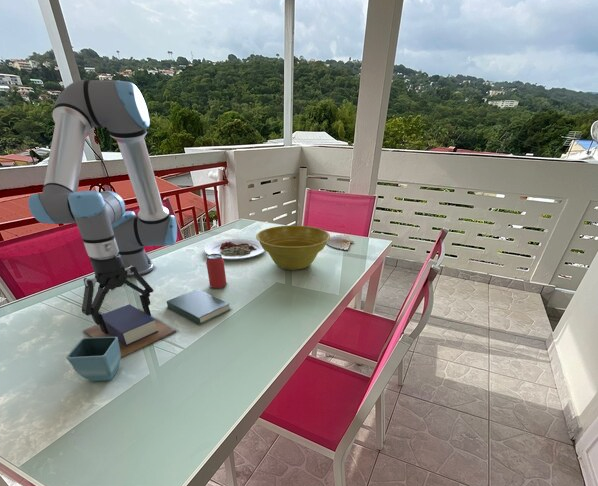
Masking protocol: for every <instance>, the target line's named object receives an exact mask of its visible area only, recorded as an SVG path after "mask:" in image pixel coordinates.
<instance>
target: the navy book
mask: <svg viewBox="0 0 598 486" xmlns="http://www.w3.org/2000/svg"><path fill="white" fill-rule="evenodd" d="M140 310H141V309H139V308H137V307H135V306H134V305H131V304H130V303H128V304H125V305H123V306H120V307H118V308H115V309H113V310H110V311H106V312H104V313H101V314H102V317H103V320H104V322H105V325H106V327H107V330H108V334H109V335H111V336H112V337H118V341H119V342H120V343H122V344H123V345H125V346H128V345H130V344H132V343H135V342H137V341H139V340H141V339H143V338H146V337H148V336H150V335H152V334H155V333H157V332H159V331H158V330H157V327H156V324H155V319H156V318H155V317H153V316H152V315H151V316H149V315H147V314H146V313H144V311H143V312H142V310H141V311H140ZM152 317H153V318H152ZM154 318H155V319H154Z"/></svg>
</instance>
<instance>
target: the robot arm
mask: <svg viewBox="0 0 598 486" xmlns="http://www.w3.org/2000/svg"><path fill="white" fill-rule="evenodd" d="M51 115H52V119H53V123H54V127H53V135H52V140H51V145H50V150H49V155H48V161H47V167H46V172H45V176H44V182H43V187H42V192H41V193H40V192H37V193H32V194H31V195H29V197H28V200H27V204H28V209H29V212H30V214H31V215H32V216H33V217H32V218H34V219H35V220H36V221H38V222H39V223H42V224H49V225H50V224H51V225H60V224H61V225H63V224H76V226H77V228H78V232H79V233H80V236H81V239H82V243H83V245H84V248H85V252H86V254H87V256H88V257H89V263H90V264H91V268H92V270H93V272H94V277H91V278H88V277H84V278H83V284H84V290H83V291H84V292H83V298H82V305H81V306H82V307H81V313H82V314H84V315H85V316H87V317H89V316H91V317H92V318H91V319H92V320H93V322H94V324H96V325H100V328H101V330H102V332H104V333H105V334H108V330H107V327H106V325H105V322H104V320H103V317H102V314H103V313H101V312H100V310H101V308H102V305H103V302H104V301H105V298H106V295H107V294H108V293H109V291H110V290H111V291H112V290H115V289H117V288H122V287H123V286H124V285H125V286H127V287H129V288H130V289H132V290H134V291H136V292H138V293H139V300H140V303H141V306H142V310H143V312H144V313H146V314H147V315H149V316H151V317H152V313H151V309H150V305H151V299H150V297H151V293H154V289H153V287H152V286H151V285H150V284H149V283H148V282H147V281H146V280H145V278H144V277H142V275H146V274H149V273H150V272H151V271H153V270H154V264H153V262H152V260H151V258H150V257H149V255H148V254H147V252H146V250H145V247H154V246H155V247H162V246H163V247H167V246H174V245H175V244H176V243H177V238H178V224H177V218H176V216H175V215H173V214H170V211H169V209H168V208H167V207H165V206H164V204H163V200H162V198H161V197H162V196H161V194H160V190H159V187H158V183H157V180H156V176H155V172H154V169H153V166H152V161H151V158H150V154H149V151H148V148H147V144H146V141H145V137H146V135H147V134H148V128H149V127H150V123H151V122H150V121H151V120H150V116H149V111H148V107H147V104H146V101H145V99H144V97H143V95H142V93H141V91H140V89H139V88H138V86H136V85H135V84H134V83H133V82H132V81H124V80H119V79H116V80H115V79H114V80H113V79H111V80H110V79H109V80H108V79H107V80H106V79H104V80H103V79H102V80H101V79H100V80H99V79H97V80H96V79H95V80H93V79H92V80H91V79H80V80H75V81H73V82H72V83H70V84H69V85H68V86H66V87H65V88H64V89H63V90H62V91H61V93H60V94H59V95H58V97H57V99H56V100H55V102H54V106H53V109H52V113H51ZM94 128H106V129H107V131H108V134H109V136H110V137H111V138H112V139H114V140H115V141H116V143H117V145H118V149H119V152H120V154H121V158H122V161H123V163H124V166H125V169H126V172H127V175H128V178H129V180H130V184H131V187H132V190H133V193H134V196H135V199H136V201H137V204H138V207H139V211H138V212H137V215H136V213H135V212H134V211H133V210H127V211H126V203H125V201H124V199H123V198H122V196H120V195H119V194H118V193H116V192H115V191H112V190H105V191H104V190H103V191H100V192H99V191H98V190H79V183H80V177H81V172H82V171H81V170H82V165H83V158H84V157H83V156H84V150H85V145H86V138H87V137H89V135H91V132H92V129H94ZM78 190H79V191H78ZM129 277H133V278H134V279H135V280H136V281H137V282H138V283H139V284H140V285H141V286H142V287H143V288H144V289H142V288H141V287H140V286H138V285H136V284H134V283H133V282H131V281H130V280H128V279H127V278H129ZM96 283H97V284H98V287H97V291H96V293H95V296H94V292H95V287H96Z"/></svg>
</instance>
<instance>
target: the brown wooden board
mask: <svg viewBox="0 0 598 486" xmlns="http://www.w3.org/2000/svg"><path fill="white" fill-rule="evenodd" d="M139 310H140V311H142V310H141V309H139ZM142 312H144V310H143V311H142ZM151 317H152V318H154V319H155V324H156V327H157V330H158V331H159V332H157V333H155V334H152V335H150V336H148V337H146V338H143V339H141V340H139V341H137V342H135V343H132V344H130V345H128V346H125V345H123V344H122V343H120V342H119V341H118V342H119V347H120V353H121V359H122V358H124V357H126V356H128V355H130V354H132V353H134V352H136V351H139V350H140V349H143V348H144V347H147V346H149V345H151V344H153V343H156V342H158V341H160V340H162V339H164V338H167V337H169V336H170V335H173V334H174V333H176V332H177V330H175V329H174V328H172V327H170V326H168V325H167V324H165V323H163V322H162V321H160V320H159V319H156V318H155V317H153V316H151ZM83 332H84V333H86V334H87V335H89V336H90V338H97V337H112V336H111V335H109V334H105V333H104V332H102V330H101V328H100V325H97V324H96V325H93V326H91V327H88V328H85V329H84V330H83Z"/></svg>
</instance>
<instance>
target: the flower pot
mask: <svg viewBox="0 0 598 486" xmlns="http://www.w3.org/2000/svg"><path fill="white" fill-rule="evenodd" d="M65 358H66V360H67V361H68V363H69V364H70V365H71V367H72V368H73V369H74V370H75V372H76V374H78V375H79V376H80V377H82V378H84V379H85V380H86V381H87V380H88V381H90V382H100V381H103V382H104V381H112V379H113V378H114V377H115V374H116V373H117V372H118V370H119V367H120V364H121V359H122V358H121V353H120V347H119V342H118V337H97V338H93V337H82V338H81V339H80V340H79V341H78V342H77V344H76V345H75V346H74V347H73V348H72V350H71V351H70V352H69V353H68V354H67V355H66V357H65Z"/></svg>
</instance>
